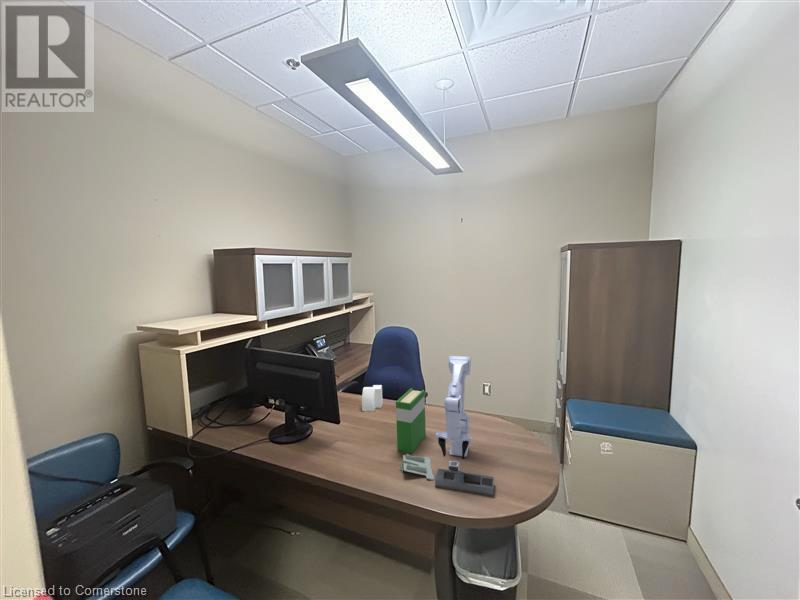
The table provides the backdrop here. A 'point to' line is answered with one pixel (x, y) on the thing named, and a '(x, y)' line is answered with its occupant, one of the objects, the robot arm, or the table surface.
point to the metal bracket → (417, 465)
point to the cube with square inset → (454, 465)
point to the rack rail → (458, 478)
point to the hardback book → (410, 420)
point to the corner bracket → (372, 398)
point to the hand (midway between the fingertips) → (453, 456)
